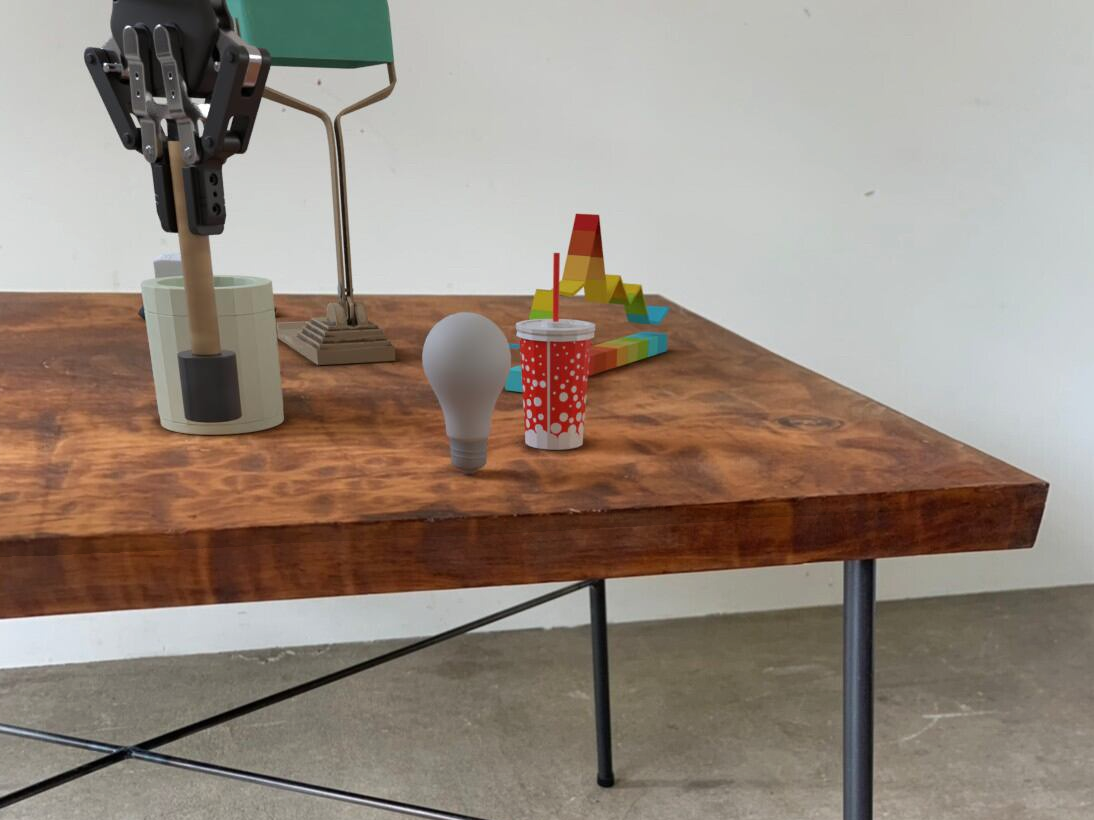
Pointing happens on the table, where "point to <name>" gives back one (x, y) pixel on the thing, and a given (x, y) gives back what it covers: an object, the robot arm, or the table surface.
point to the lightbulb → (467, 381)
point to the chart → (601, 288)
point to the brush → (201, 322)
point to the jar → (240, 330)
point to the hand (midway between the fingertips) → (193, 232)
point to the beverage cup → (554, 376)
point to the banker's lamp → (328, 42)
